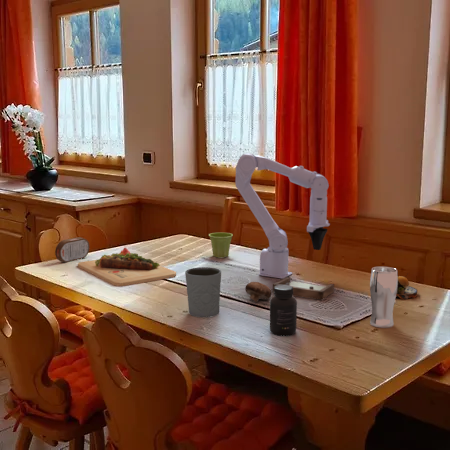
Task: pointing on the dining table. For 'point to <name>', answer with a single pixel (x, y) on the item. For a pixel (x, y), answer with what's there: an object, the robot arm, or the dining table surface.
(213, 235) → the plant pot
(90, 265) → the cutting board
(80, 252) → the tin
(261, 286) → the mushroom
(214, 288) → the grey tapered cup
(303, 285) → the door
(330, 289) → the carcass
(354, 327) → the dining table surface
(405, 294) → the salad plate
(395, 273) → the beer glass
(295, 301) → the supplement bottle
